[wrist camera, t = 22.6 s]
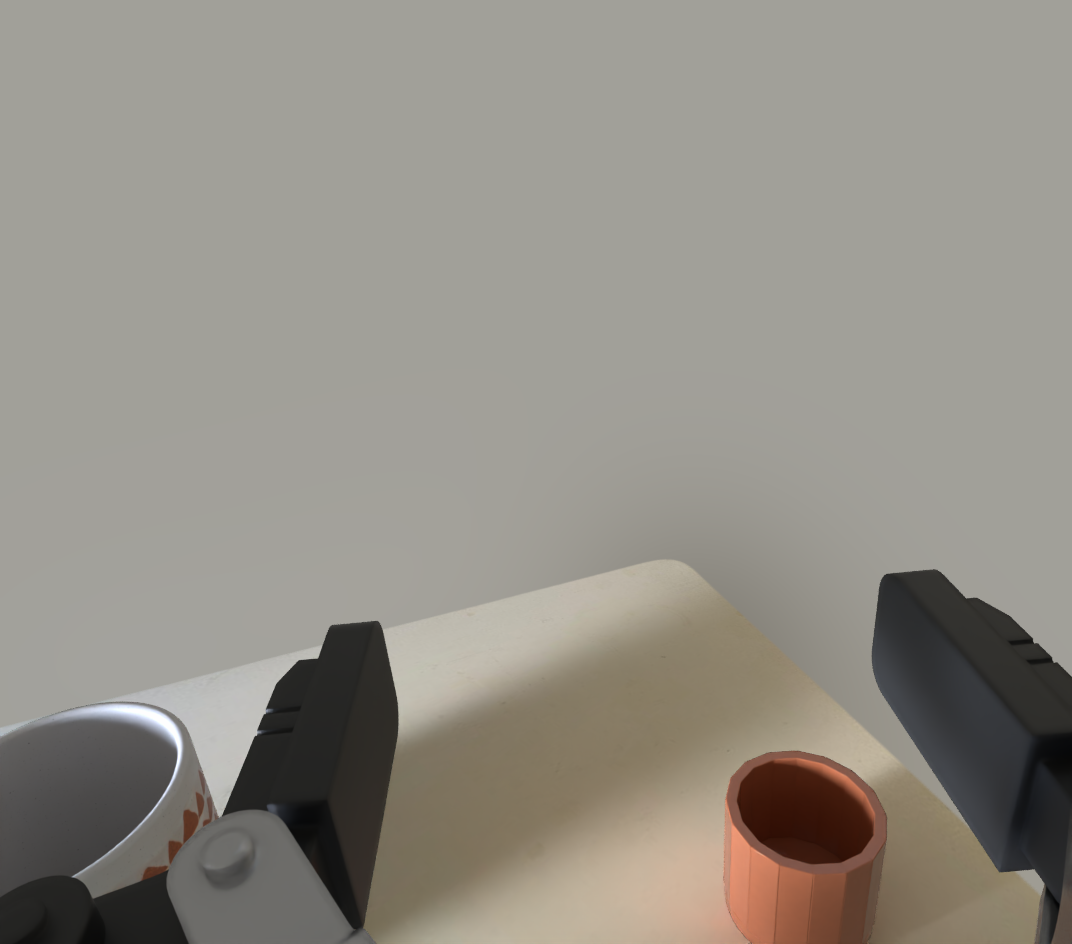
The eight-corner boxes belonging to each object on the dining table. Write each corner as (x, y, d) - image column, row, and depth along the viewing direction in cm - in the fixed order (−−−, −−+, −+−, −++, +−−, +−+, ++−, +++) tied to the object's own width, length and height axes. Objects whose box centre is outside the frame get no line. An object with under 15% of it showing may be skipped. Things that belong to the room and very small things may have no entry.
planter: (299, 899, 45) (248, 733, 40) (91, 1165, 34) (-18, 982, 29) (139, 829, 51) (76, 676, 45) (-84, 1037, 39) (-201, 865, 34)
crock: (874, 860, 44) (887, 769, 41) (871, 992, 38) (886, 894, 35) (737, 824, 47) (739, 737, 44) (712, 940, 41) (713, 847, 38)
